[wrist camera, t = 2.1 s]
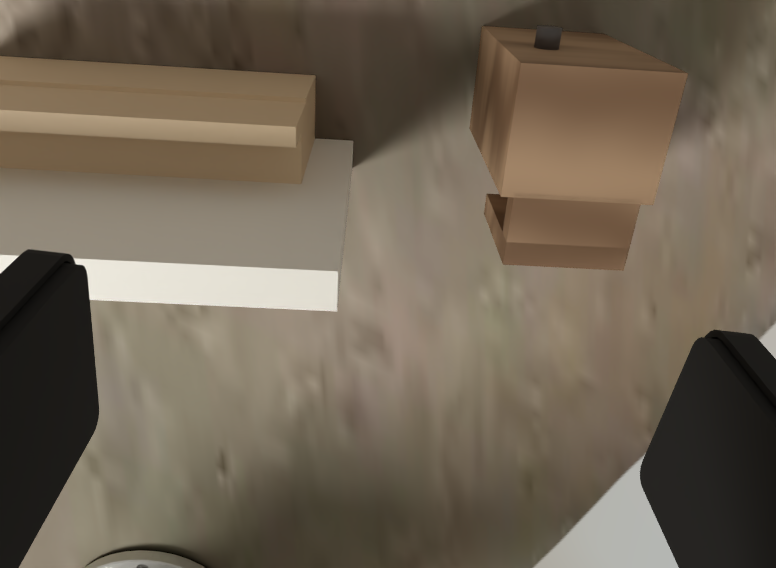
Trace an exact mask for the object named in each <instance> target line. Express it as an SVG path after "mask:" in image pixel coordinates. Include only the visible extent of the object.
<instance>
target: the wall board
mask: <svg viewBox="0 0 776 568" xmlns="http://www.w3.org/2000/svg"><path fill="white" fill-rule="evenodd" d="M315 87H316V75H301V74H285V73H269V72H252V71H236V70H220V69H204V68H187V67H171V66H155V65H138V64H122V63H106V62H89V61H73V60H57V59H40V58H24V57H8V56H0V273H1V272H2V271H4V270H5V269H6V268H7V267H8V266H9V265H10V264H11V263H12V262H13V261H14V260H15V259H16V258H17V257H19V256H20V255H21V254H22V253H23V252H24V251H26V250H27V249H33V250H41V251H50V252H58V253H67V254H70V255H71V256H73V258H74V261H75V264H77V265H83V266H84V267H85V268H86V271H87V276H88V287H89V299H90V300H106V301H127V302H148V303H169V304H191V305H212V306H233V307H255V308H276V309H297V310H319V311H337V307H338V297H339V288H340V279H341V269H342V260H343V250H344V241H345V232H346V222H347V213H348V204H349V194H350V185H351V176H352V163H353V141H350V140H332V139H315Z"/></svg>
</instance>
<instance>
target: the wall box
mask: <svg viewBox="0 0 776 568" xmlns="http://www.w3.org/2000/svg"><path fill="white" fill-rule="evenodd" d="M562 29H563V28H561V27H557V26H548V25H538V26H537V29H522V28H506V27H491V26H482V30H481V38H480V47H479V55H478V63H477V71H476V80H475V88H474V96H473V105H472V113H471V121H470V130H471V132H472V134H473V137H474V139H475V141H476V143H477V145H478V148H479V150H480V152H481V154H482V156H483V159H484V161H485V163H486V165H487V167H488V169H489V172H490V174H491V176H492V178H493V180H494V183H495V185H496V187H497V189H498V191H499V194H487V196H486V203H485V211H484V215H485V217H486V220H487V223H488V225H489V228H490V231H491V233H492V236H493V239H494V241H495V244H496V247H497V250H498V252H499V255H500V258H501V260H502V263H503V264H505V265H525V266H544V267H564V268H584V269H604V270H624V267H625V263H626V259H627V255H628V251H629V248H630V244H631V240H632V236H633V232H634V228H635V224H636V220H637V216H638V212H639V209H640V205H641V204H643V205H653V204H654V200H655V196H656V192H657V189H658V185H659V181H660V177H661V174H662V170H663V166H664V162H665V159H666V155H667V151H668V147H669V144H670V140H671V136H672V132H673V129H674V125H675V121H676V117H677V114H678V110H679V106H680V102H681V99H682V95H683V91H684V87H685V84H686V80H687V76H688V73H686V72H684V71H682V70H680V69H678V68H676V67H674V66H671V65H669V64H667V63H665V62H663V61H661V60H659V59H657V58H654V57H652V56H650V55H648V54H646V53H644V52H642V51H639V50H637V49H635V48H633V47H631V46H629V45H627V44H625V43H622V42H620V41H618V40H616V39H614V38H612V37H610V36H608V35H605V34H599V33H583V32H568V31H562Z"/></svg>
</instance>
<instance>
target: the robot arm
mask: <svg viewBox="0 0 776 568" xmlns="http://www.w3.org/2000/svg"><path fill="white" fill-rule="evenodd" d="M98 416H99V402H98V391H97V379H96V368H95V356H94V345H93V333H92V322H91V310H90V299H89V287H88V276H87V271H86V268H85V267H84V266H83V265H77V264H75V261H74V258H73V256H71V255H70V254H67V253H58V252H50V251H41V250H33V249H27V250H26V251H24V252H23V253H22V254H21V255H20V256H19V257H17V258H16V259H15V260H14V261H13V262H12V263H11V264H10V265H9V266H8V267H7V268H6V269H5V270H4V271H2V272H1V273H0V568H19V566H20V564H21V562H22V560H23V559H24V557H25V555H26V553H27V552H28V550H29V548H30V546H31V544H32V543H33V541H34V539H35V537H36V535H37V534H38V532H39V530H40V528H41V526H42V525H43V523H44V521H45V519H46V518H47V516H48V514H49V512H50V510H51V509H52V507H53V505H54V503H55V501H56V500H57V498H58V496H59V494H60V492H61V491H62V489H63V487H64V485H65V484H66V482H67V480H68V478H69V476H70V475H71V473H72V471H73V469H74V467H75V466H76V464H77V462H78V460H79V458H80V457H81V455H82V453H83V451H84V450H85V448H86V446H87V444H88V442H89V441H90V439H91V437H92V435H93V433H94V431H95V429H96V426H97V422H98ZM640 480H641V485H642V488H643V490H644V492H645V494H646V497H647V499H648V501H649V503H650V505H651V507H652V510H653V512H654V514H655V516H656V518H657V521H658V523H659V525H660V527H661V529H662V532H663V534H664V536H665V538H666V540H667V543H668V545H669V547H670V549H671V551H672V553H673V556H674V557H675V560H676V562H677V564H678V567H679V568H776V359H775V358H774V357H773V356H772V355H771V353H770V352H769V351H768V350H767V349H766V348H765V347H764V346H763V344H762V343H761V342H760V341H759V340H758V339H757V338H756V337H755V336H753V335H752V334H746V333H737V332H729V331H720V330H713V331H710V332H709V333H708V334H707V335H706V336H705V338H702V337H701V338H699V339H697V340H696V341H695V342H694V344H693V346H692V348H691V351H690V353H689V355H688V357H687V360H686V362H685V364H684V367H683V369H682V371H681V374H680V376H679V378H678V381H677V383H676V385H675V388H674V390H673V392H672V395H671V397H670V399H669V401H668V404H667V406H666V408H665V411H664V413H663V415H662V418H661V420H660V422H659V425H658V427H657V429H656V432H655V434H654V436H653V438H652V441H651V443H650V445H649V448H648V450H647V452H646V455H645V457H644V459H643V462H642V465H641V470H640ZM85 568H205V567H204V566H202V565H200V564H198V563H196V562H194V561H192V560H190V559H187V558H184V557H181V556H177V555H174V554H169V553H164V552H159V551H146V550H138V551H125V552H120V553H116V554H111V555H108V556H105V557H103V558H100V559H98V560H96V561H94V562H92V563H91V564H89V565H88V566H86V567H85Z"/></svg>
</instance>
